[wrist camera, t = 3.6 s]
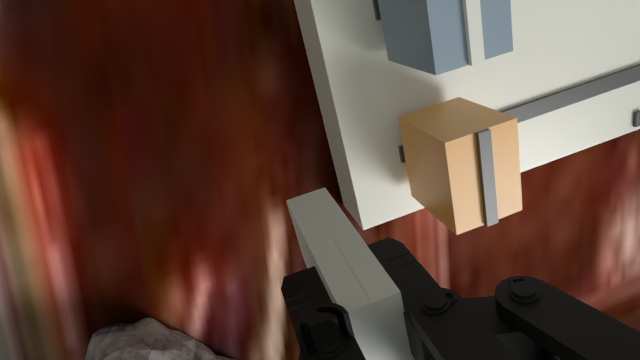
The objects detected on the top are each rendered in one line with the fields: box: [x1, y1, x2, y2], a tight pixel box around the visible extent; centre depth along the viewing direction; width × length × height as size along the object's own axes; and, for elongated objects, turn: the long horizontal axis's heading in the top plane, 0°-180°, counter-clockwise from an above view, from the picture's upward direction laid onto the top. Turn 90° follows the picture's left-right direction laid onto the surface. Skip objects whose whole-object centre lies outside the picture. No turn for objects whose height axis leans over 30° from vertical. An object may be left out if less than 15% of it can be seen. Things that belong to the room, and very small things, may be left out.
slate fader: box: [378, 0, 513, 75], centre depth 17 cm, size 3×4×4 cm
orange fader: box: [398, 97, 522, 235], centre depth 20 cm, size 3×4×4 cm
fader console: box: [294, 0, 640, 230], centre depth 23 cm, size 19×13×3 cm
